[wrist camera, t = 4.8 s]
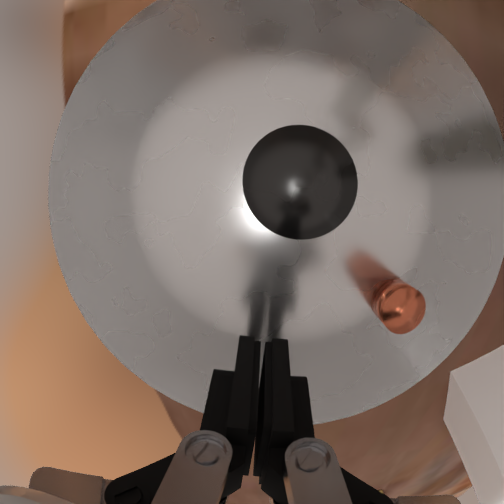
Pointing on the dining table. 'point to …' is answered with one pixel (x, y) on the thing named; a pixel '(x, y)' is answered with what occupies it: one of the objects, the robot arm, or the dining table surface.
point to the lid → (279, 195)
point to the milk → (479, 423)
